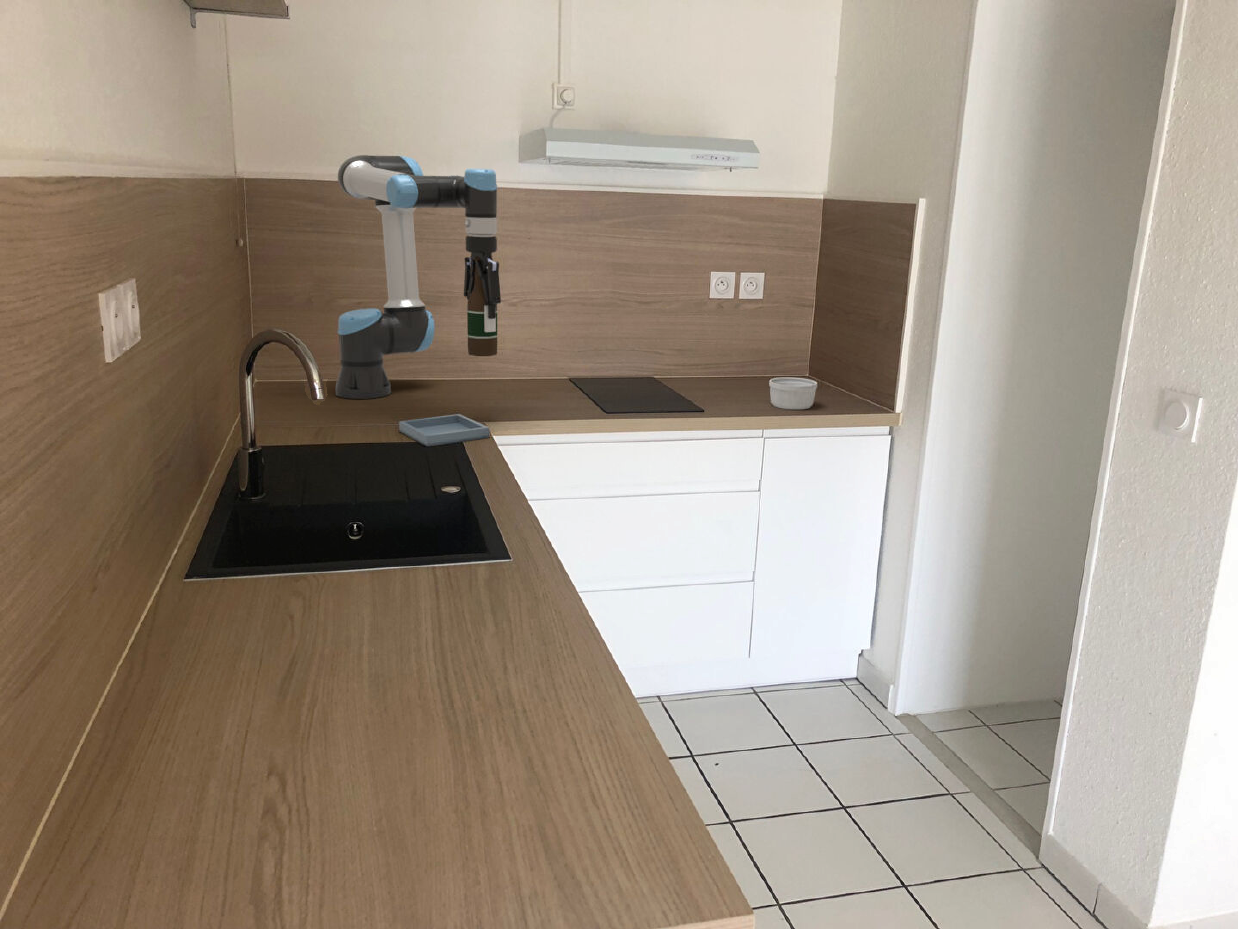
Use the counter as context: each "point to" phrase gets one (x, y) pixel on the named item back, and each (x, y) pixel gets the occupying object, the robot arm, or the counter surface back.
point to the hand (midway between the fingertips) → (482, 328)
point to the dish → (443, 430)
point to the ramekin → (792, 393)
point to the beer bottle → (479, 322)
